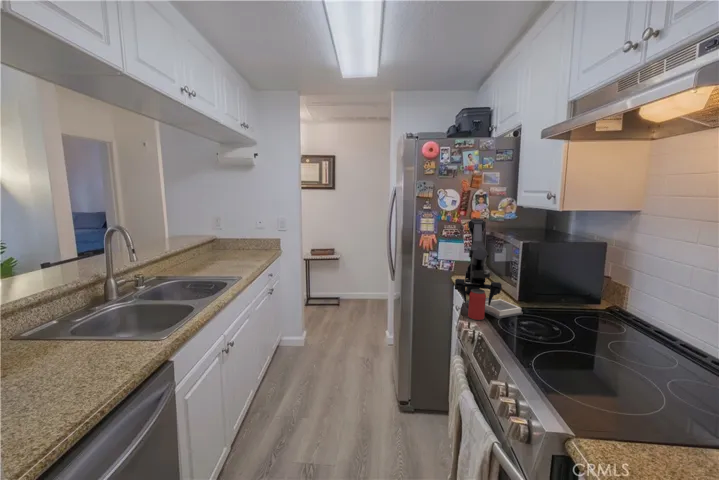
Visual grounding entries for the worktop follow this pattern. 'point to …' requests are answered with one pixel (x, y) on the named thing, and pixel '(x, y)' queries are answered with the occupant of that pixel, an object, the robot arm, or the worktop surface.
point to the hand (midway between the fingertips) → (477, 304)
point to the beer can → (477, 304)
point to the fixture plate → (501, 308)
